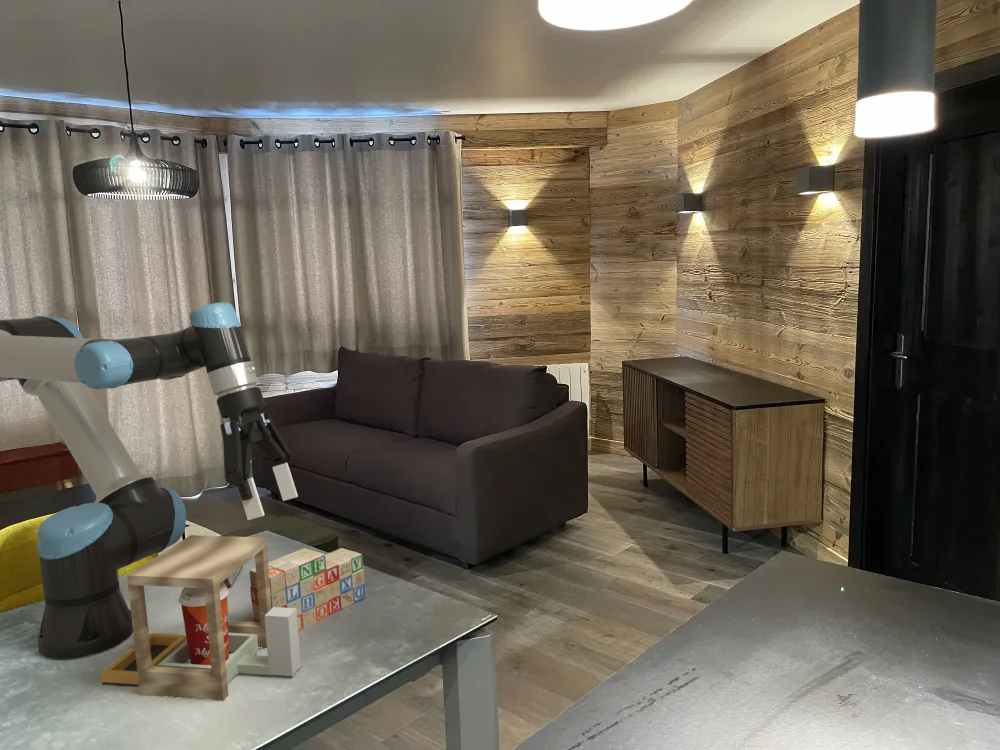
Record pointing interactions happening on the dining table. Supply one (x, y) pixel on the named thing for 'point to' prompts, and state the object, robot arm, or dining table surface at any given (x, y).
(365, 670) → the dining table surface
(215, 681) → the oak tunnel
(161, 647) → the pit trap
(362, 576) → the stack of blocks
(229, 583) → the tin
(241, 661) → the collar
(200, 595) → the paper cup
